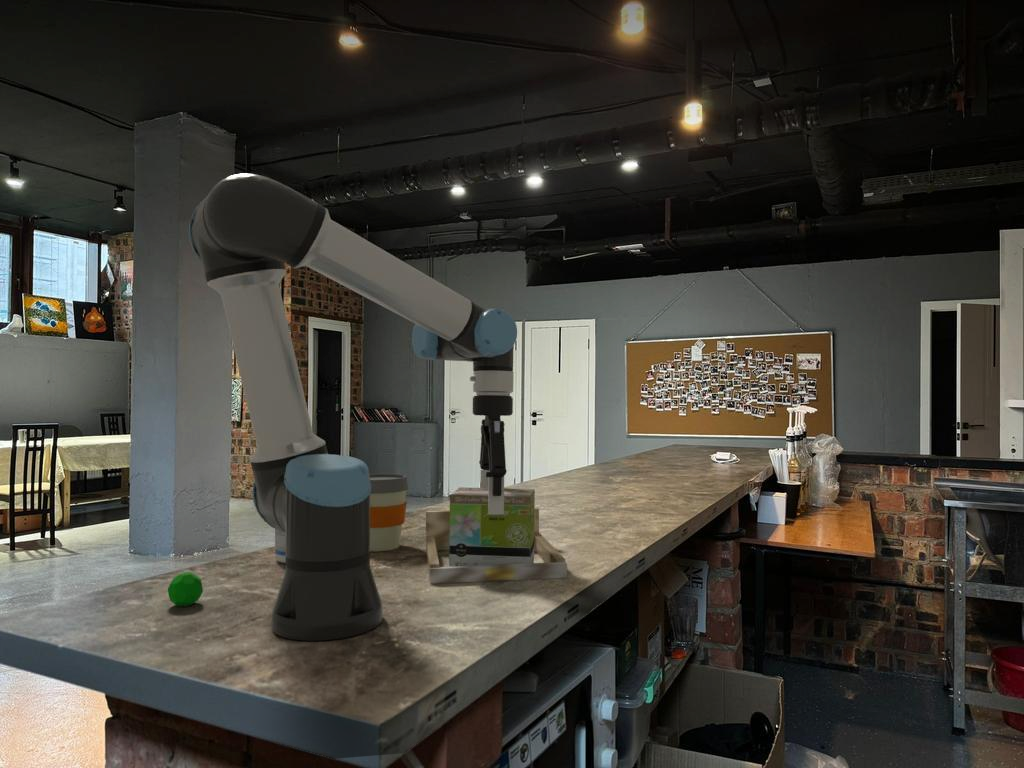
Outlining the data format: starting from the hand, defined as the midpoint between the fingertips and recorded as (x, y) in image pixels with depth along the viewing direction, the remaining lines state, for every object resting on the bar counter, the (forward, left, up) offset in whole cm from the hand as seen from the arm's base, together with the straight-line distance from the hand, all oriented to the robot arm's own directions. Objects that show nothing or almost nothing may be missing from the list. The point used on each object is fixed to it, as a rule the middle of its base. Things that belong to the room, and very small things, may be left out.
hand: (491, 508), depth 131 cm
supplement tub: (-37, +15, -11) cm, 41 cm away
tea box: (0, 0, -12) cm, 12 cm away
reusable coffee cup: (-22, +24, -11) cm, 34 cm away
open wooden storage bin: (0, +6, -11) cm, 13 cm away
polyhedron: (-50, -14, -12) cm, 53 cm away
